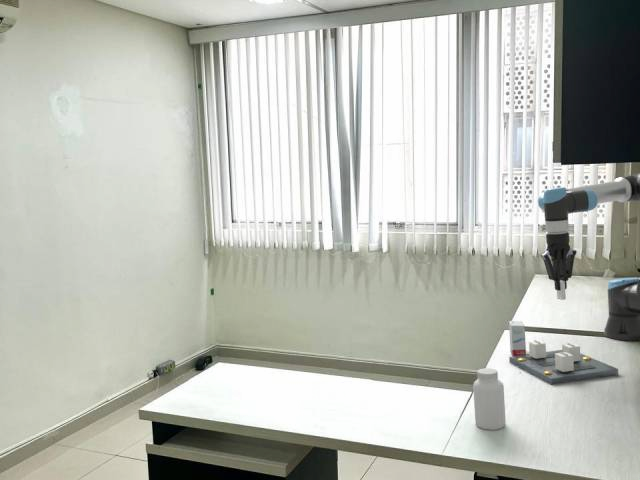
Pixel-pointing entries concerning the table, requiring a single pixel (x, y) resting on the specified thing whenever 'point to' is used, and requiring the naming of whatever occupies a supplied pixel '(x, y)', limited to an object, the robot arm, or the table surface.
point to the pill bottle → (489, 400)
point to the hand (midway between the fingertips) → (561, 298)
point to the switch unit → (551, 375)
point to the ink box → (517, 338)
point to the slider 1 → (537, 349)
